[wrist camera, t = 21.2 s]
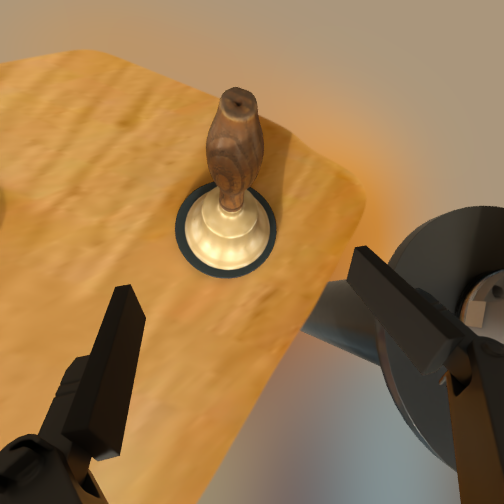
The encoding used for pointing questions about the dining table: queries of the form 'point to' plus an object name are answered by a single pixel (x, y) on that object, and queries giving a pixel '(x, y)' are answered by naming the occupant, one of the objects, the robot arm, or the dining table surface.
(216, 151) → the hand bell
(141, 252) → the dining table surface
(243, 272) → the corner coaster
